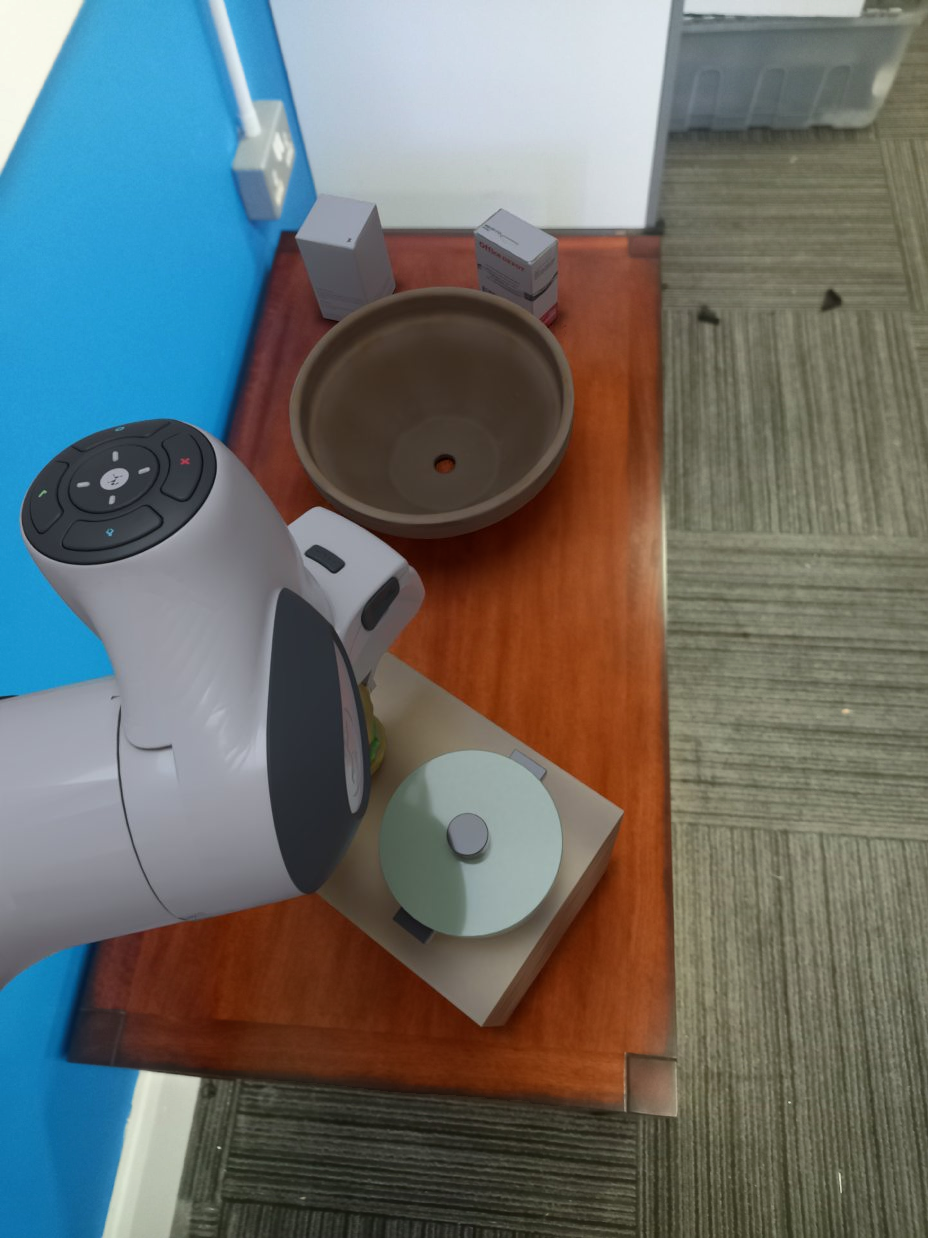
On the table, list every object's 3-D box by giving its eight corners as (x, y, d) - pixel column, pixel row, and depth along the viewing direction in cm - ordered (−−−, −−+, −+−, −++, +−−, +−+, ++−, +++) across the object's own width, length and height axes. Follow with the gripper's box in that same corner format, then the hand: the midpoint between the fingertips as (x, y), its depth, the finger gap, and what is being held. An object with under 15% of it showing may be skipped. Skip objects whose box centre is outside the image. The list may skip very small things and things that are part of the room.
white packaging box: (397, 286, 111) (379, 201, 100) (374, 331, 109) (352, 249, 97) (344, 274, 113) (320, 190, 101) (320, 318, 110) (292, 236, 99)
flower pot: (531, 612, 91) (526, 550, 79) (280, 548, 97) (241, 482, 85) (602, 394, 101) (607, 310, 89) (372, 349, 107) (348, 265, 96)
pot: (490, 995, 54) (479, 990, 47) (356, 888, 58) (326, 868, 50) (602, 828, 58) (608, 799, 50) (468, 736, 61) (456, 697, 54)
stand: (503, 1026, 75) (481, 1027, 54) (302, 864, 83) (210, 807, 61) (607, 868, 80) (624, 811, 58) (407, 728, 87) (357, 630, 65)
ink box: (559, 316, 107) (560, 237, 96) (533, 342, 106) (530, 265, 95) (506, 284, 110) (500, 204, 99) (479, 308, 108) (470, 230, 98)
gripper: (157, 864, 41) (251, 902, 53) (427, 538, 47) (455, 642, 59) (66, 785, 43) (178, 840, 55) (336, 483, 49) (382, 594, 61)
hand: (323, 736), depth 57 cm, fingers closed on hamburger, 6 cm apart
